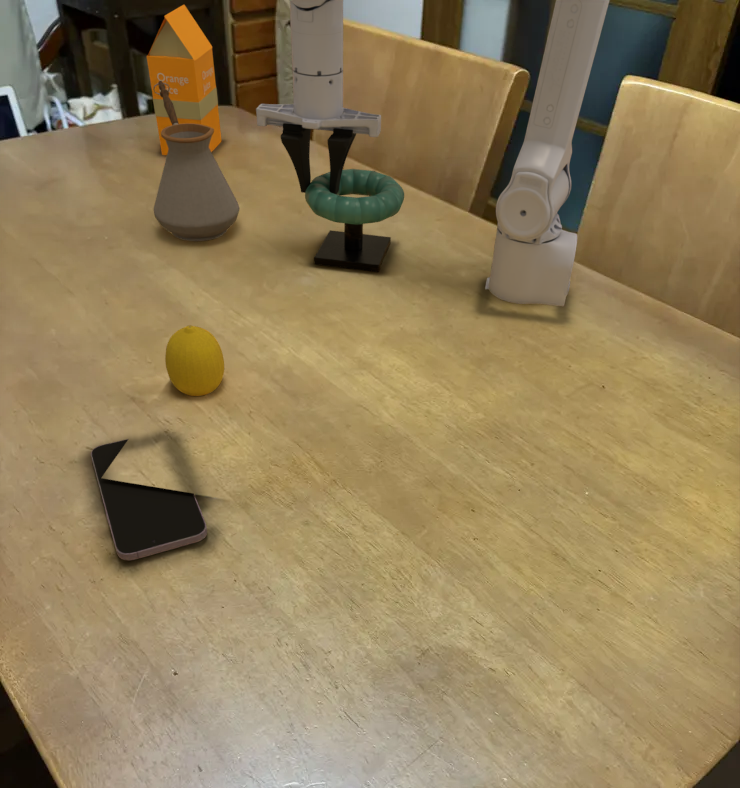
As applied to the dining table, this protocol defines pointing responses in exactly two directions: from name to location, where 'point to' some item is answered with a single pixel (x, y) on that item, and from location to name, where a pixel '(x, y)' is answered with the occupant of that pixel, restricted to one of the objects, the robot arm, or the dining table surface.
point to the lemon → (194, 361)
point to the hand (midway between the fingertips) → (319, 191)
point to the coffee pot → (192, 182)
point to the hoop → (351, 210)
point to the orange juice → (184, 75)
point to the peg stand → (353, 249)
